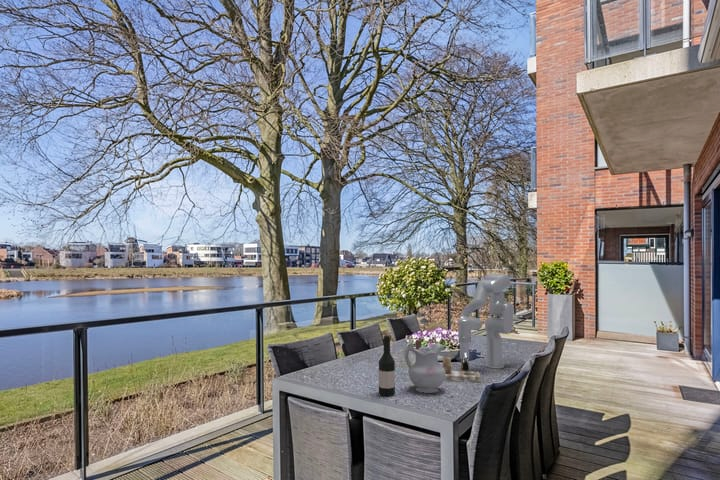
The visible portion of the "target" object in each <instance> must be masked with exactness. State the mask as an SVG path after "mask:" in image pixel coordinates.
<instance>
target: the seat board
mask: <svg viewBox="0 0 720 480" xmlns="http://www.w3.org/2000/svg"><path fill="white" fill-rule="evenodd" d="M451 361H452V359H451V356H443V357H442V366H443V368H444V369H445V379H444V382H461V383H462V382H463V383H481V382H482V380H481V379H482V378H481V374H480V372H479V371H470V370H469V371H461V370H452V368H451V367H452V366H451V365H452V362H451Z"/></svg>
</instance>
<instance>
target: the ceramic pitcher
mask: <svg viewBox="0 0 720 480" xmlns="http://www.w3.org/2000/svg"><path fill="white" fill-rule="evenodd" d="M444 350H445V348H444V345H442V344H438V343H435V342H434V343H432V344H430V345H429V346H424V345H421V347H420V348H419V350H417V349H416V347H414V343H408V344H407V346H406V347H405V349H404V360H405V363H406V366H407V367H408V375H409V376H408V377H409V380H410V381H411V383H412V384H413V385H414V386H415V387H416V388H415V391H416V392H418V391H420V392H419V393H422V392H424V393H423V394H431V393H432V394H433V393H439V392H441V390H440V389H439V388H438V387H440V386H442V385H443V383H444V382H445V381H444V379H445V369H444V368H443V364H440V363H439V361H438V357H439V353H440V352H442V351H444ZM411 351H412V352H413V353H414V354H415V362H414V363H413V364H411V361H410V360H411V359H410V358H409V352H411Z"/></svg>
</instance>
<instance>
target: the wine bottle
mask: <svg viewBox="0 0 720 480" xmlns="http://www.w3.org/2000/svg"><path fill="white" fill-rule="evenodd" d="M395 365H396V362H395V359H394V357H393V355H392V354H391V337H390V335H389V334H384V336H383V354H382V356H381V357H380V358H379V360H378V395H379V394H380V395H381V397H384V396H385V397H386V398H391V397H394V396H395V395H394V394H396V381H395V380H396V371H395V370H396V366H395ZM380 395H379V396H380ZM390 396H391V397H390Z"/></svg>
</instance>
